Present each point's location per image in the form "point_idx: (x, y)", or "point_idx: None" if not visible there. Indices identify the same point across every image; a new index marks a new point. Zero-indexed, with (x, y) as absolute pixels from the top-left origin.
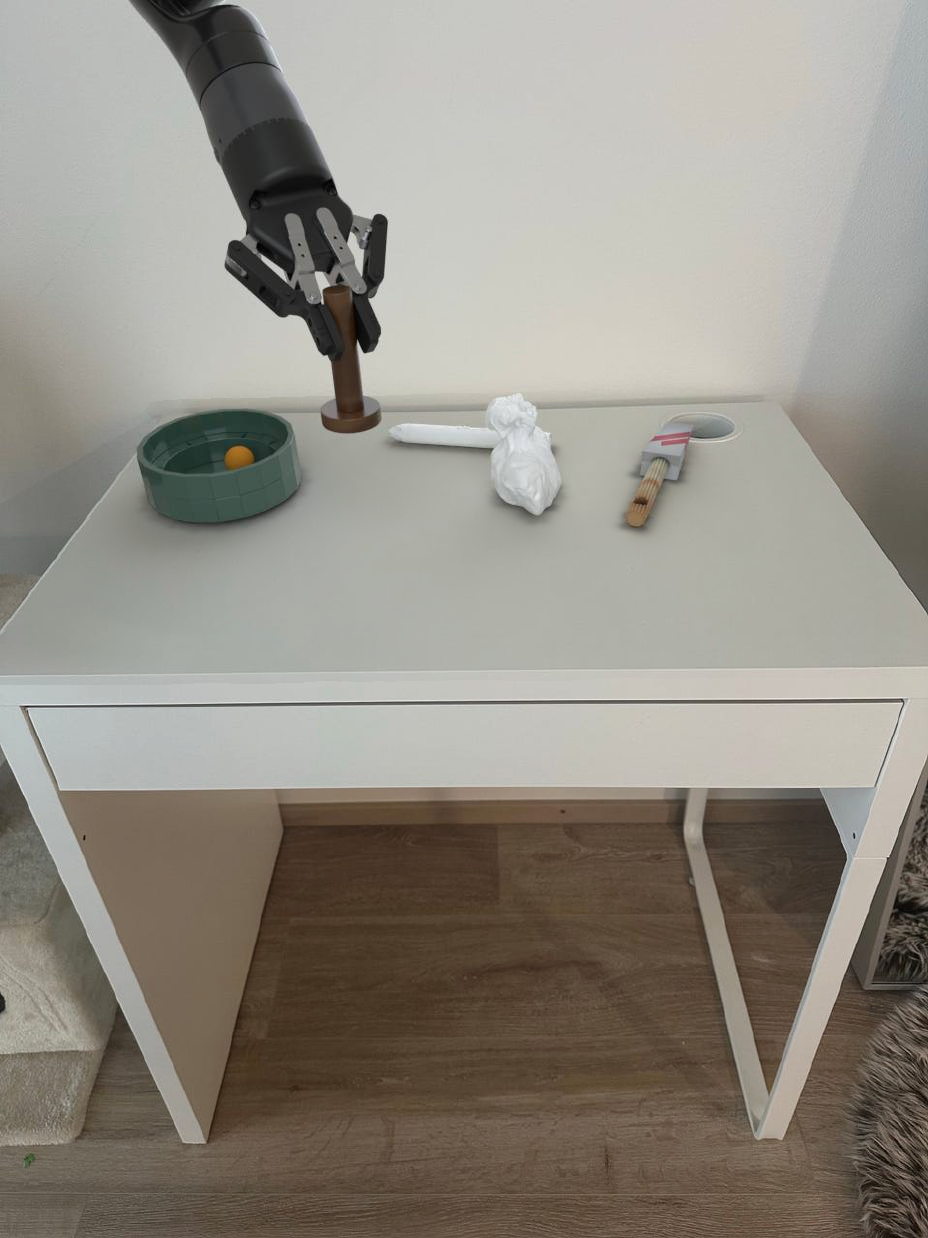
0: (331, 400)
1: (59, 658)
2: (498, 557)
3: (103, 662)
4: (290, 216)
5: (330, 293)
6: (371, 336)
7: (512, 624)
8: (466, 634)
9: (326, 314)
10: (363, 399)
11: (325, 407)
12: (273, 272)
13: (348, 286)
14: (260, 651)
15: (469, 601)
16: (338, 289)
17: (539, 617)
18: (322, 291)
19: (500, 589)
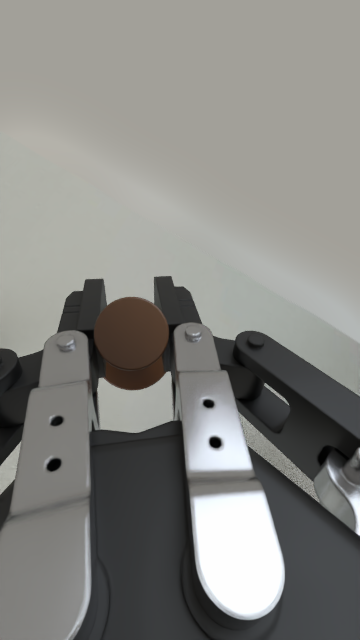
0: (147, 383)
1: (351, 352)
2: (38, 307)
3: (327, 333)
4: (251, 588)
5: (157, 313)
6: (98, 279)
7: (79, 229)
8: (113, 236)
9: (172, 310)
10: (108, 363)
11: (162, 365)
12: (295, 387)
13: (96, 340)
14: (239, 292)
15: (91, 268)
16: (128, 331)
17: (58, 225)
18: (167, 341)
19: (62, 268)
